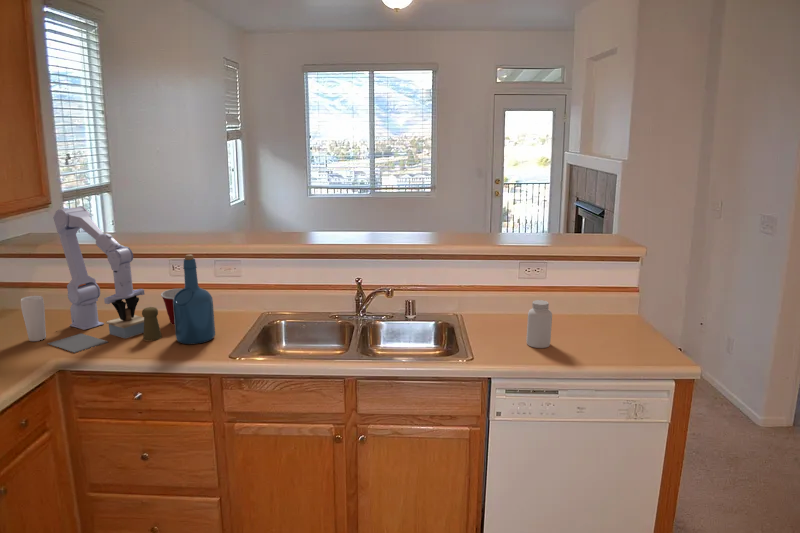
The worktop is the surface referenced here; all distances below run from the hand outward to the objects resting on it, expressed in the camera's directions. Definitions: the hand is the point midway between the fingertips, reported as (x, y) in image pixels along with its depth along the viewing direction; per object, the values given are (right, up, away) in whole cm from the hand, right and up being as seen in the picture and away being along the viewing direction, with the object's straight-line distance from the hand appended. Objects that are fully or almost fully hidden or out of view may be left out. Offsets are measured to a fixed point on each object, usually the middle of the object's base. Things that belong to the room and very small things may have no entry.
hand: (127, 318), depth 217 cm
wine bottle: (+26, -7, -5) cm, 28 cm away
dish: (0, -5, +1) cm, 5 cm away
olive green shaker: (+11, -7, -4) cm, 13 cm away
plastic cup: (+14, -3, +12) cm, 19 cm away
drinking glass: (-29, -7, -5) cm, 30 cm away
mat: (-13, -8, -9) cm, 18 cm away
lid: (0, -1, 0) cm, 1 cm away
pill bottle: (+145, -8, -11) cm, 145 cm away
